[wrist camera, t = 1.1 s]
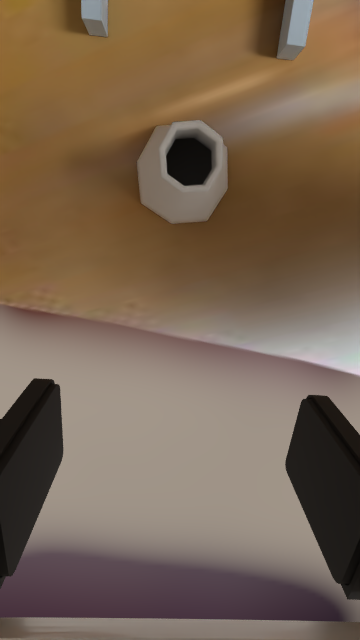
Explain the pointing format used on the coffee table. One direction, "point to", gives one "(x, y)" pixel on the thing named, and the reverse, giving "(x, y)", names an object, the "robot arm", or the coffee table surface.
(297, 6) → the blue frame
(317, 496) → the robot arm
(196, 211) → the flask
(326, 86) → the coffee table surface
